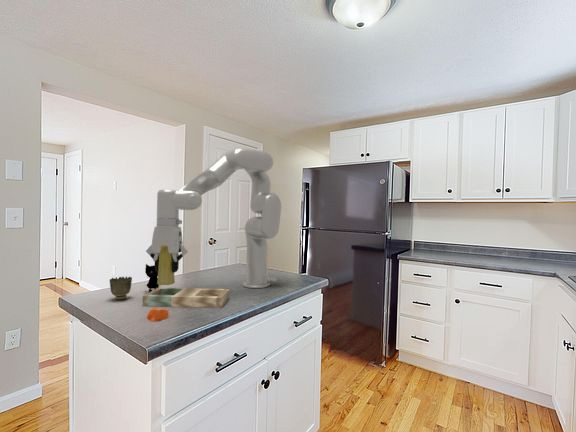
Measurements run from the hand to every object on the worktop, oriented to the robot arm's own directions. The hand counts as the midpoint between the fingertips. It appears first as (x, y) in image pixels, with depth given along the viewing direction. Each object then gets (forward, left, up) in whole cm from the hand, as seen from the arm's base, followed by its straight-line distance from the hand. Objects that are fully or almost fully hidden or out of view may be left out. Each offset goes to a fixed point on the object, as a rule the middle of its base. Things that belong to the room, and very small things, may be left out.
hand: (166, 271), depth 109 cm
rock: (-5, +16, -12) cm, 21 cm away
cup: (+18, -1, -12) cm, 21 cm away
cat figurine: (+11, -12, -12) cm, 20 cm away
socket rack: (-8, 0, -11) cm, 14 cm away
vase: (0, 0, -5) cm, 5 cm away
